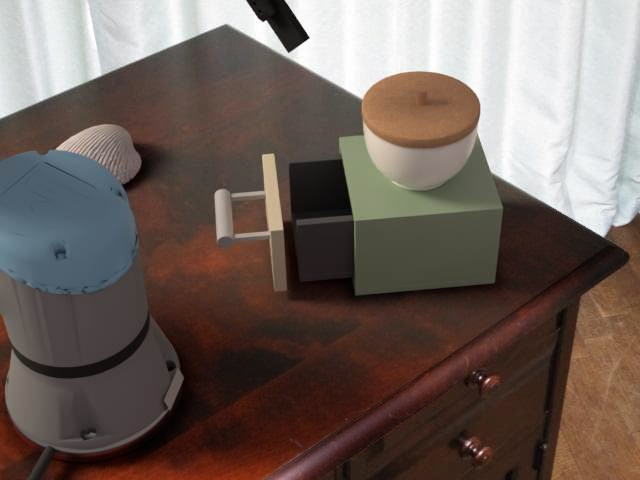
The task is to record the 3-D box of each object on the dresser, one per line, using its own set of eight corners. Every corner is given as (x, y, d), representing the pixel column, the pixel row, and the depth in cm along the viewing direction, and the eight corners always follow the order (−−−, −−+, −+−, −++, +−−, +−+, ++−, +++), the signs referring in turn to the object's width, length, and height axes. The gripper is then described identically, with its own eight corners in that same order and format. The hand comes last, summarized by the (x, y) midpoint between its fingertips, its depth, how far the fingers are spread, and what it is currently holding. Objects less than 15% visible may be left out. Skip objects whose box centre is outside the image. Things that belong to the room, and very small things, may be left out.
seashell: (162, 135, 125) (94, 165, 118) (159, 178, 128) (93, 211, 120) (95, 101, 129) (26, 129, 122) (94, 144, 132) (27, 173, 125)
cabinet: (355, 295, 110) (355, 220, 104) (340, 210, 120) (339, 137, 113) (494, 283, 111) (503, 208, 105) (469, 199, 120) (475, 125, 114)
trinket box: (479, 207, 105) (487, 124, 98) (361, 207, 105) (362, 124, 99) (470, 136, 113) (476, 54, 106) (361, 136, 113) (361, 56, 107)
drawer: (222, 296, 109) (215, 235, 104) (217, 218, 118) (211, 158, 112) (404, 280, 110) (406, 219, 105) (386, 204, 119) (388, 143, 114)
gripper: (124, -168, 90) (277, 59, 93) (326, -259, 104) (453, -59, 107) (89, -122, 96) (234, 90, 99) (284, -213, 110) (406, -25, 113)
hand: (348, 13), depth 103 cm, fingers open, 13 cm apart
